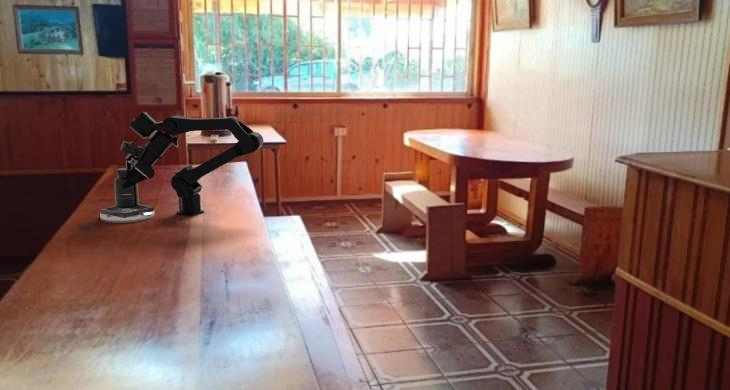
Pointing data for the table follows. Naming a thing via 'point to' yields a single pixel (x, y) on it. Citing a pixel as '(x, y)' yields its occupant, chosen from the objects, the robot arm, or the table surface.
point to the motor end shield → (126, 214)
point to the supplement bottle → (125, 190)
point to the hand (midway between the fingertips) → (121, 186)
